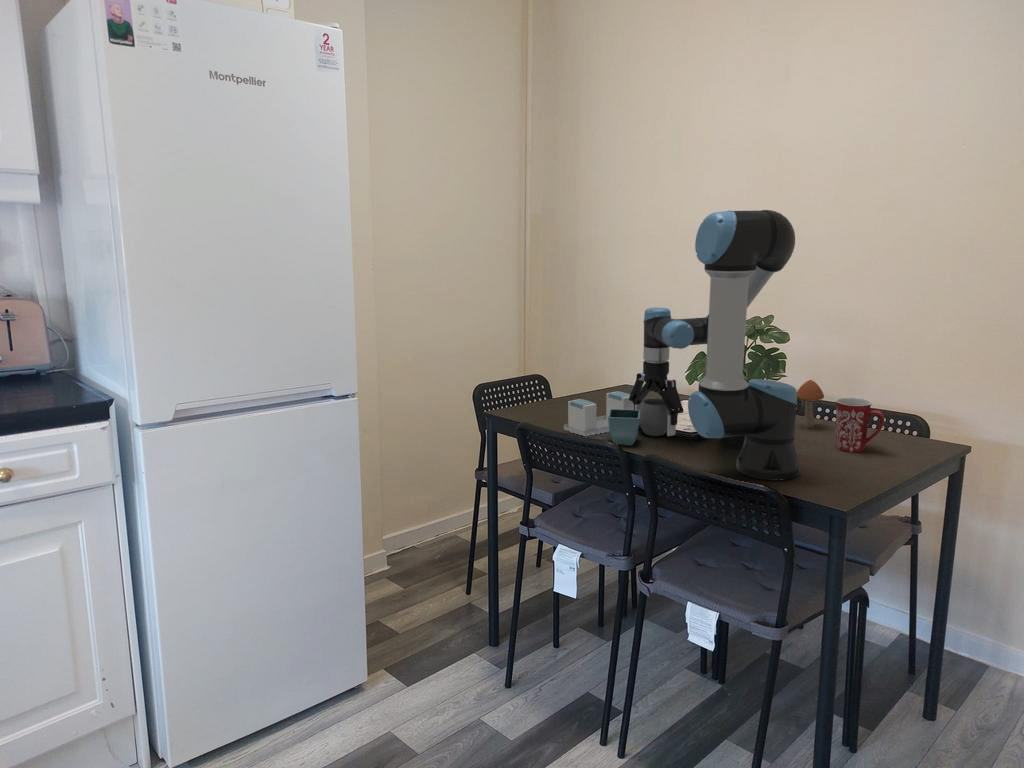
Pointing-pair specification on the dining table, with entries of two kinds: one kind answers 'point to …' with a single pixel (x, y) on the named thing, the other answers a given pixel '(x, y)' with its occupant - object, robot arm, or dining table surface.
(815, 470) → the dining table surface
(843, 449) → the mug
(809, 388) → the mushroom
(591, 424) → the block
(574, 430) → the grey flat slab
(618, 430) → the flower pot
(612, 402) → the block
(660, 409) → the cup
